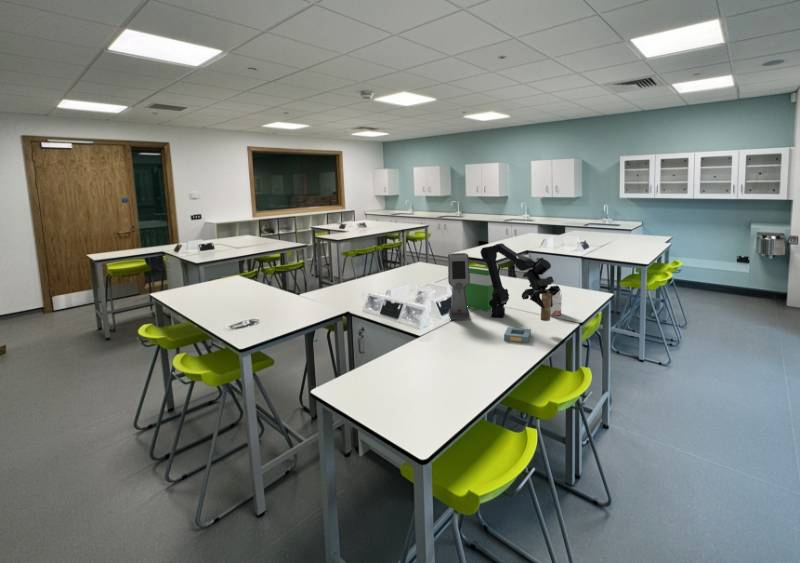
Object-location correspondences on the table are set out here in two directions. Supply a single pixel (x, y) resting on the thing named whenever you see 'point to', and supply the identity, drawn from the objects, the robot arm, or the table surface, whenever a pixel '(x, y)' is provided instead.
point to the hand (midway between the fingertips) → (547, 307)
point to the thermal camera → (458, 285)
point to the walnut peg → (546, 307)
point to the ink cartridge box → (556, 304)
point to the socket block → (517, 335)
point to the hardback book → (479, 288)
